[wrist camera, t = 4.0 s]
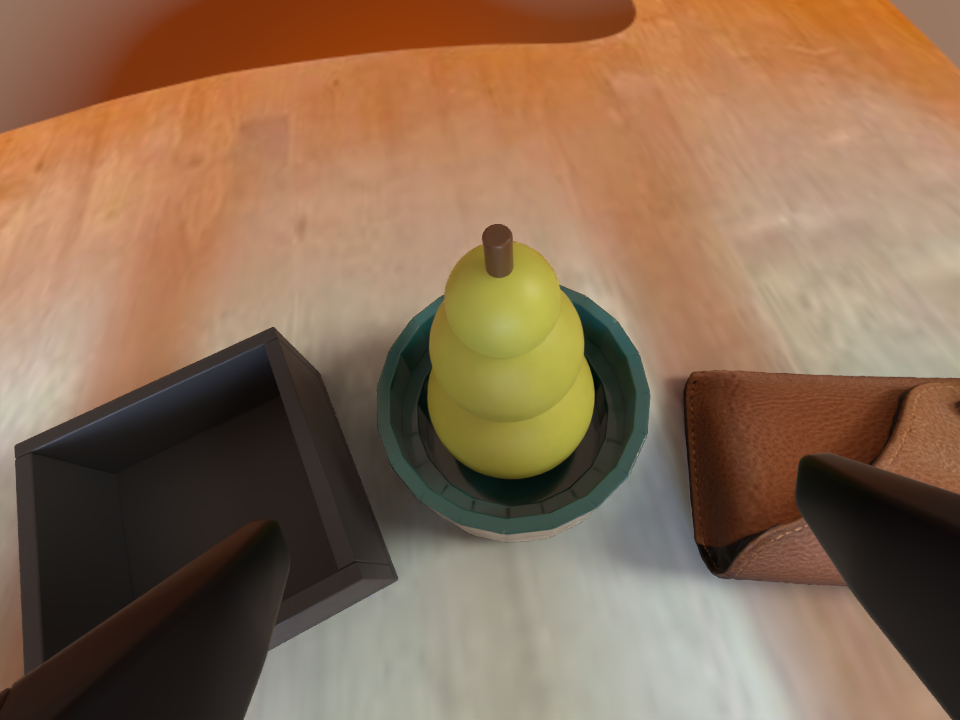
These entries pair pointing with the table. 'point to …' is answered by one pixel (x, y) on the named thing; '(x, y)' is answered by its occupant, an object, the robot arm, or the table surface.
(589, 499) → the bowl
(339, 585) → the bin
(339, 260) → the table surface
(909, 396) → the sunglasses case
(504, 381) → the pear
